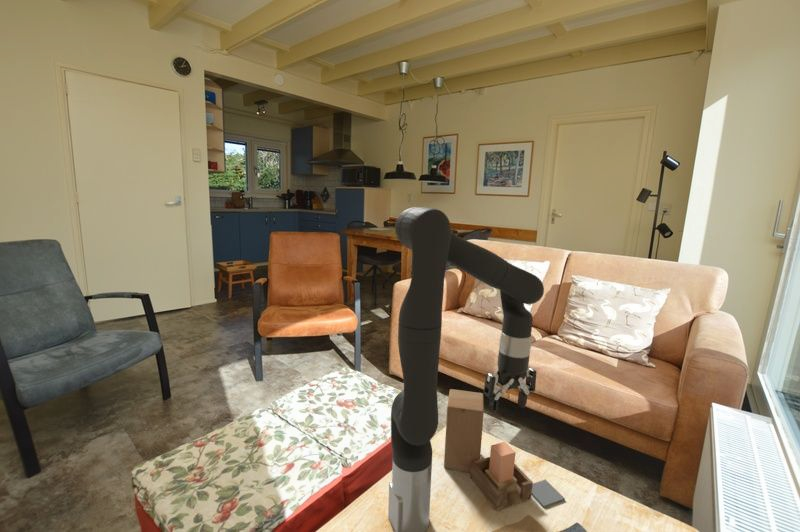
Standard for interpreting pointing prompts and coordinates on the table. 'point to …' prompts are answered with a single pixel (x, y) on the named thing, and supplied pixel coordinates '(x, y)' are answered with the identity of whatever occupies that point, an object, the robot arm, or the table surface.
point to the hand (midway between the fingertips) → (507, 408)
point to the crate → (500, 485)
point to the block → (502, 462)
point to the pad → (546, 493)
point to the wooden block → (463, 429)
